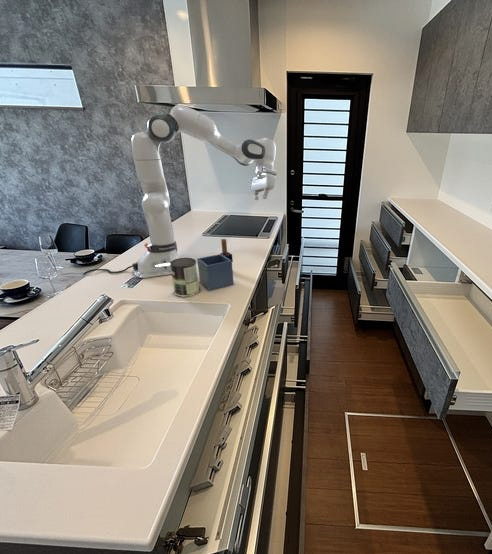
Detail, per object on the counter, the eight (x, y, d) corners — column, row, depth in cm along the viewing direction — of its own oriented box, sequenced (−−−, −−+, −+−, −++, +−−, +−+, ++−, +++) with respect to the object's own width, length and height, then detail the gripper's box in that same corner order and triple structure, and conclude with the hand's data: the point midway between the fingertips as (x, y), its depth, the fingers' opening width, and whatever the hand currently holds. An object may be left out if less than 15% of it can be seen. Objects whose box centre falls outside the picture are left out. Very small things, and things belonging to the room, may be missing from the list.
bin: (209, 290, 134) (206, 266, 130) (199, 282, 143) (197, 258, 138) (233, 284, 141) (231, 260, 137) (223, 276, 149) (220, 253, 145)
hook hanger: (221, 271, 156) (218, 239, 149) (228, 269, 158) (225, 237, 151) (226, 274, 151) (223, 242, 145) (233, 273, 154) (231, 240, 147)
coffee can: (174, 298, 127) (169, 267, 121) (174, 288, 136) (170, 258, 130) (200, 295, 130) (196, 264, 125) (199, 285, 139) (195, 256, 134)
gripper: (249, 173, 161) (246, 199, 162) (267, 167, 144) (263, 196, 145) (260, 176, 165) (256, 201, 166) (279, 171, 148) (274, 199, 149)
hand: (260, 199), depth 155 cm, fingers open, 8 cm apart
